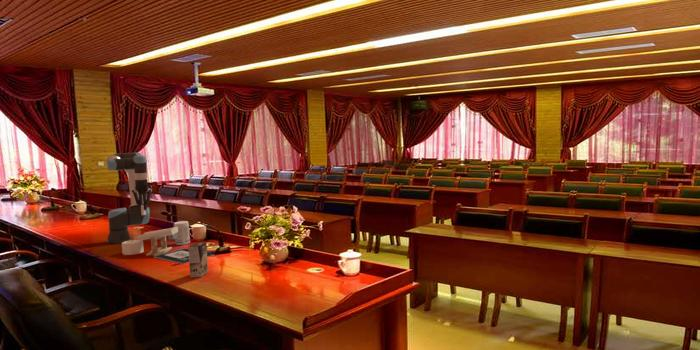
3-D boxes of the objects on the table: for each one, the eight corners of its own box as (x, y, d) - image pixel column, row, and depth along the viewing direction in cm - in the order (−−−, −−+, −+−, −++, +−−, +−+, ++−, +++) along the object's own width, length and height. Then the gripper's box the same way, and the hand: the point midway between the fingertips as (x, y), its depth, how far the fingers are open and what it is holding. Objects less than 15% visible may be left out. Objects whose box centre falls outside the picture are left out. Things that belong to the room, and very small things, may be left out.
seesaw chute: (184, 233, 304) (182, 223, 303) (172, 239, 286) (170, 229, 285) (151, 239, 305) (149, 229, 304) (137, 245, 287) (135, 235, 286)
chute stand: (172, 248, 300) (171, 232, 300) (160, 255, 283) (159, 238, 283) (158, 248, 301) (157, 232, 300) (146, 255, 284) (145, 238, 283)
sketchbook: (183, 265, 261) (183, 261, 261) (152, 258, 278) (152, 255, 278) (214, 256, 279) (214, 252, 279) (183, 250, 296) (183, 247, 296)
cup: (128, 250, 298) (128, 239, 298) (146, 250, 298) (145, 239, 298) (119, 255, 287) (118, 244, 287) (137, 254, 287) (136, 243, 286)
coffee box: (202, 277, 234) (200, 246, 233) (189, 277, 234) (187, 246, 233) (208, 271, 243) (206, 241, 242) (196, 272, 244) (194, 242, 242)
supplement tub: (187, 241, 321) (185, 220, 319) (192, 243, 313) (190, 222, 312) (173, 243, 314) (171, 222, 313) (177, 246, 307) (176, 224, 306)
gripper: (128, 180, 297) (131, 216, 300) (148, 179, 297) (151, 215, 300) (134, 178, 305) (136, 213, 307) (153, 178, 305) (156, 213, 307)
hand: (143, 214), depth 304 cm, fingers closed
